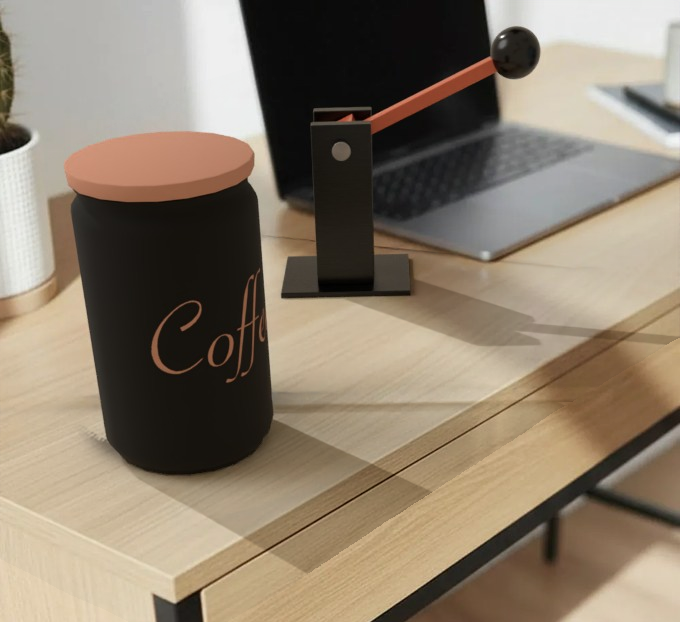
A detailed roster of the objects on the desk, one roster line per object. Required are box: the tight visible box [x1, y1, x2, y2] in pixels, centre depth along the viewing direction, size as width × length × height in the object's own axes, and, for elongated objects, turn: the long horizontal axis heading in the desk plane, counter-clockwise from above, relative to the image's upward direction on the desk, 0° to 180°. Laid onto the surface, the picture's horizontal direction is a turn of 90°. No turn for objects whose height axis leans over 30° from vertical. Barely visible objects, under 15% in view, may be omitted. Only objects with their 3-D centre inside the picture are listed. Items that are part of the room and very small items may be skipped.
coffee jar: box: [63, 130, 274, 476], centre depth 72 cm, size 11×11×18 cm
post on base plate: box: [280, 106, 411, 299], centre depth 93 cm, size 10×8×14 cm
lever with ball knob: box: [337, 25, 542, 136], centre depth 88 cm, size 17×4×4 cm, turn 89°
